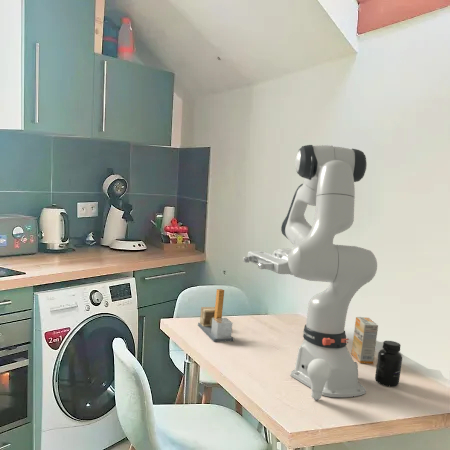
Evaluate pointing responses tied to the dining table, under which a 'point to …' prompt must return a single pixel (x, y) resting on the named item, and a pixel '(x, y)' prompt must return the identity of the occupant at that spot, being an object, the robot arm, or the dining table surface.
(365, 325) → the supplement box
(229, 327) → the matte gray cube
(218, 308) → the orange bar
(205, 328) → the slate board
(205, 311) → the socket block
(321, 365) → the lightbulb
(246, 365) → the dining table surface
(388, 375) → the supplement bottle
